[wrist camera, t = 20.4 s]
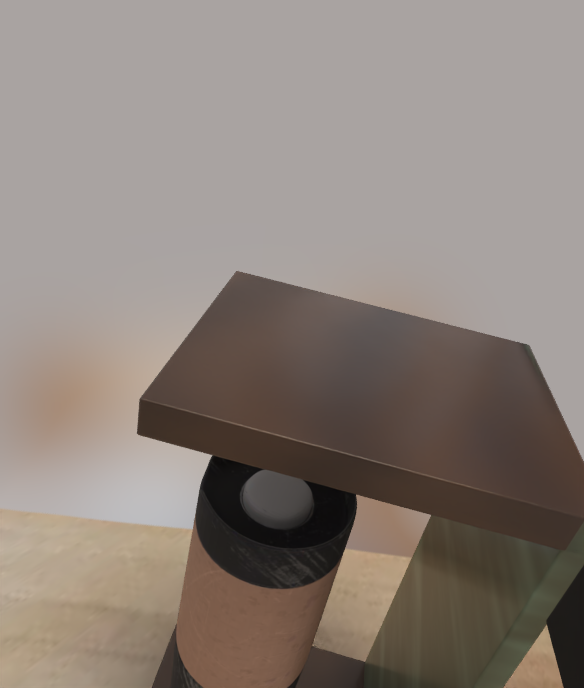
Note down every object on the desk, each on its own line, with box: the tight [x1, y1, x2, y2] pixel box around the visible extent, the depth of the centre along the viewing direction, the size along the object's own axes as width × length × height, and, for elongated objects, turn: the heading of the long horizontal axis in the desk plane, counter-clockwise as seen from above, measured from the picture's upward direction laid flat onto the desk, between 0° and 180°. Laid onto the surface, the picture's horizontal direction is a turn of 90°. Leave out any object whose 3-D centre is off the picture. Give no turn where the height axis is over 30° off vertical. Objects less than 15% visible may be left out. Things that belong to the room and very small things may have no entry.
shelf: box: [137, 271, 584, 688], centre depth 29 cm, size 15×12×30 cm
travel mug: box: [170, 455, 357, 688], centre depth 31 cm, size 8×8×20 cm
